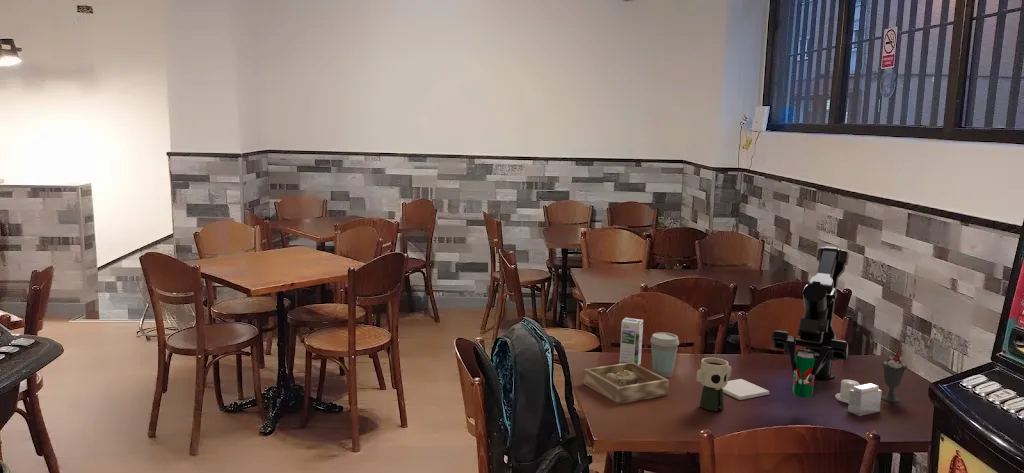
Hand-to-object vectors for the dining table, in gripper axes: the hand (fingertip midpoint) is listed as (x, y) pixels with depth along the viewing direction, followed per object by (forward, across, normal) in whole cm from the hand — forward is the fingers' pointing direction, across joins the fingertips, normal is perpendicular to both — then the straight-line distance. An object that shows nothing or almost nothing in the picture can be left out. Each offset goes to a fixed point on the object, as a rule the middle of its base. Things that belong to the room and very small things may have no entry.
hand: (803, 372), depth 198 cm
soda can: (+4, 0, +6) cm, 7 cm away
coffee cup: (+1, -41, +15) cm, 44 cm away
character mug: (+15, -21, +2) cm, 26 cm away
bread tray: (+14, -46, +2) cm, 48 cm away
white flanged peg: (-6, +10, +22) cm, 25 cm away
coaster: (+2, -18, +15) cm, 23 cm away
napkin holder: (0, +14, +17) cm, 22 cm away
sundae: (-10, +20, +27) cm, 35 cm away
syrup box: (0, -52, +17) cm, 55 cm away
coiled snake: (+14, -47, +2) cm, 49 cm away
